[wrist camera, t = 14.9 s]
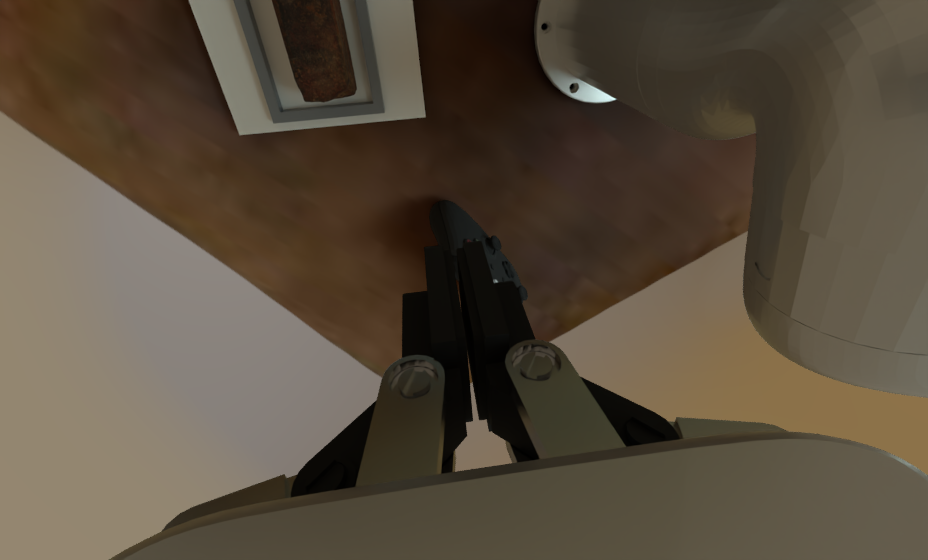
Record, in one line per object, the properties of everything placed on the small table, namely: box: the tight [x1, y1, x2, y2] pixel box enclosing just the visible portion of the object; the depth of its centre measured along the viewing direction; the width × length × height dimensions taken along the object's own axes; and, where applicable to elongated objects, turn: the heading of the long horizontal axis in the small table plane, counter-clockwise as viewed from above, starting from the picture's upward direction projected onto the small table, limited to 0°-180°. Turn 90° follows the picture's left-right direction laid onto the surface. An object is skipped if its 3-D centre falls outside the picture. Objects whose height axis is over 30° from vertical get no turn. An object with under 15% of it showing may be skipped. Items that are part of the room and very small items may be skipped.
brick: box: [272, 0, 357, 103], centre depth 29 cm, size 11×4×5 cm, turn 4°
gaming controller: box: [429, 200, 528, 303], centre depth 41 cm, size 14×6×10 cm, turn 36°
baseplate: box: [189, 0, 426, 135], centre depth 31 cm, size 16×16×2 cm
